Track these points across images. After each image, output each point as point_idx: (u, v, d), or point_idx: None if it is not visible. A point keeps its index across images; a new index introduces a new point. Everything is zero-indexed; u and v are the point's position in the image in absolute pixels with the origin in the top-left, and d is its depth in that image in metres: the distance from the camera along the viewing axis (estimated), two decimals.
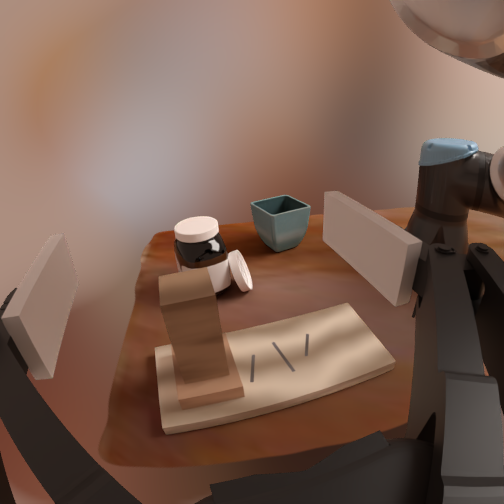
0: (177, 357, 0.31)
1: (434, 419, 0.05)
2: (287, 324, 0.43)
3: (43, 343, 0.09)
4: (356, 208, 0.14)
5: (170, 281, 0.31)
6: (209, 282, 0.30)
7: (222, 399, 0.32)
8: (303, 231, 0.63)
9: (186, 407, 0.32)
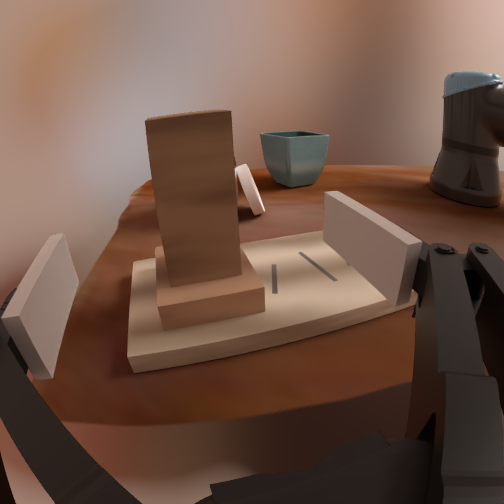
0: (162, 227, 0.20)
1: (434, 419, 0.05)
2: (316, 236, 0.32)
3: (43, 343, 0.09)
4: (356, 208, 0.14)
5: None
6: (221, 110, 0.19)
7: (230, 313, 0.21)
8: (321, 164, 0.52)
9: (170, 325, 0.20)
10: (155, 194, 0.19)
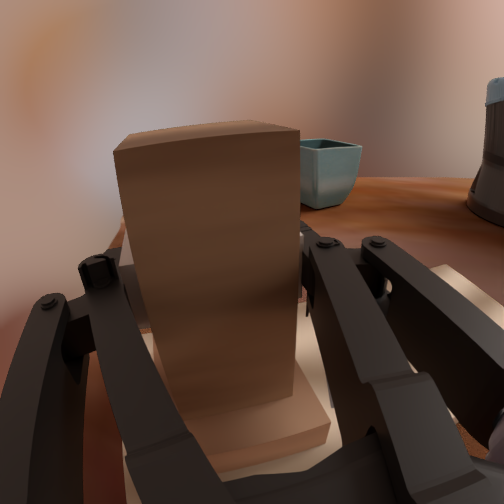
0: (162, 351, 0.10)
1: (373, 430, 0.05)
2: None
3: None
4: None
5: (157, 132, 0.11)
6: (268, 125, 0.10)
7: (276, 455, 0.12)
8: (352, 181, 0.43)
9: None
10: (145, 299, 0.09)
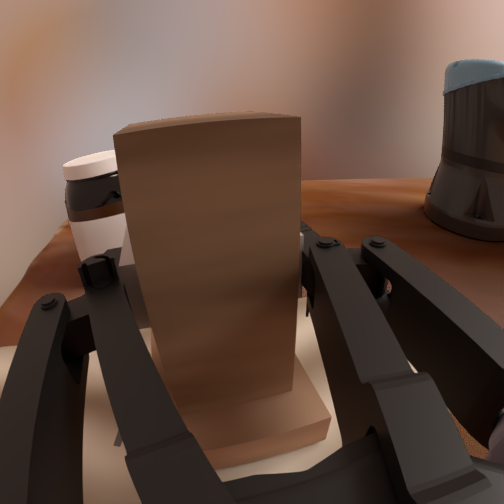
0: (159, 341, 0.10)
1: (373, 430, 0.05)
2: None
3: None
4: None
5: (158, 121, 0.11)
6: (268, 113, 0.10)
7: (275, 451, 0.12)
8: None
9: None
10: (143, 287, 0.09)
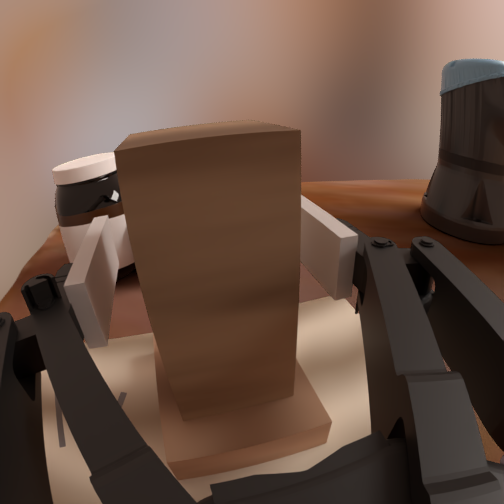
0: (163, 351, 0.10)
1: (401, 423, 0.05)
2: None
3: (100, 312, 0.10)
4: (302, 204, 0.14)
5: (158, 132, 0.11)
6: (268, 124, 0.10)
7: (277, 455, 0.12)
8: None
9: (187, 476, 0.11)
10: (146, 299, 0.09)
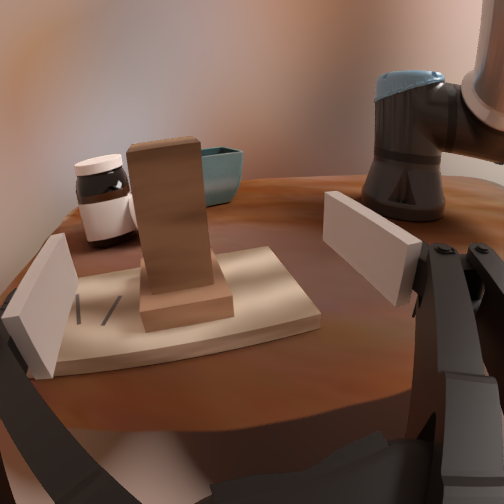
0: (142, 244, 0.22)
1: (434, 419, 0.05)
2: None
3: (43, 343, 0.09)
4: (356, 208, 0.14)
5: (144, 144, 0.23)
6: (193, 139, 0.22)
7: (202, 318, 0.24)
8: (236, 182, 0.53)
9: (151, 328, 0.23)
10: (136, 215, 0.21)
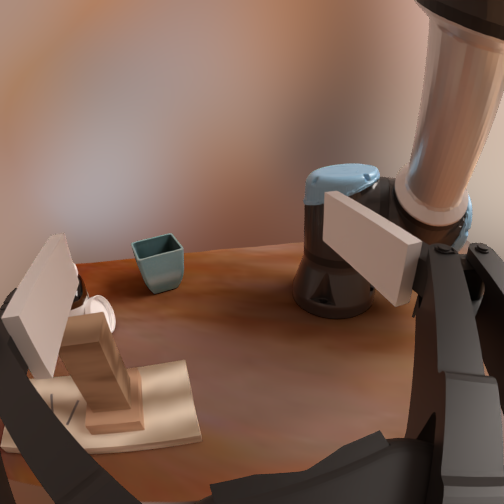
0: (80, 390, 0.30)
1: (434, 419, 0.05)
2: None
3: (43, 343, 0.09)
4: (356, 208, 0.14)
5: (70, 323, 0.30)
6: (99, 328, 0.30)
7: (124, 430, 0.32)
8: (179, 273, 0.60)
9: (94, 433, 0.31)
10: (72, 377, 0.29)
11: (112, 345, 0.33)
